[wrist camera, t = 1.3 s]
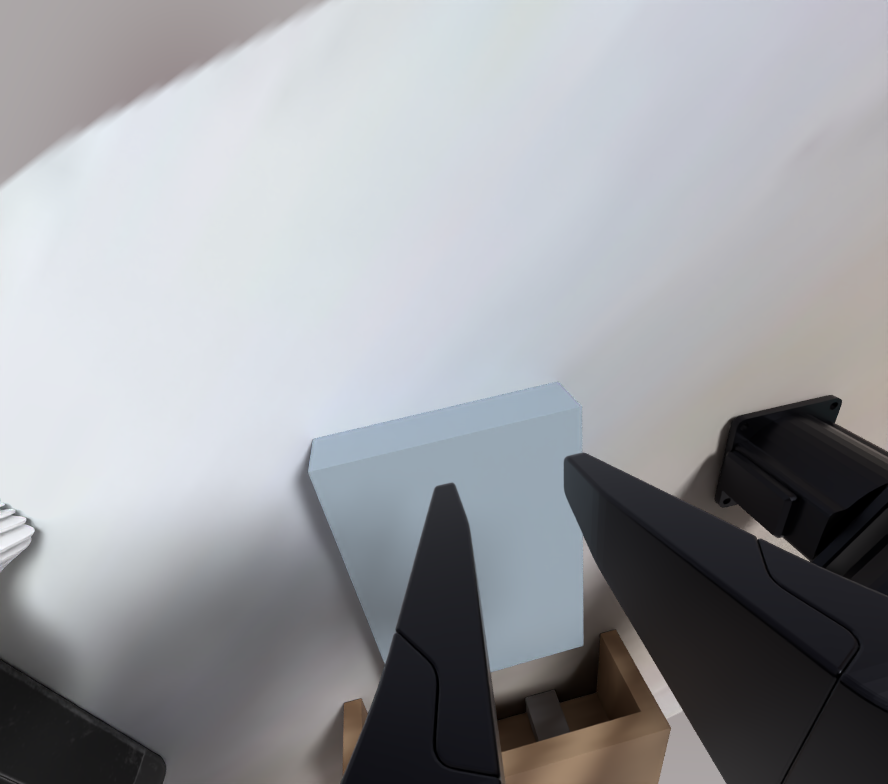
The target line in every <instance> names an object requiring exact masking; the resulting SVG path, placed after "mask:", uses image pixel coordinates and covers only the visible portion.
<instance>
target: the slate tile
mask: <svg viewBox="0 0 888 784" xmlns="http://www.w3.org/2000/svg"><path fill="white" fill-rule="evenodd" d="M577 453H582V406H581V405H580V404H579V403H578V402H577V401H576V400H575V399H574V398H573V396H572V395H571V394H570V393H569V392H568V391H567V390H566V389H565V388H564V387H563V386H562V385H561V384H560V383H559V381H558V382H554V383H549V384H545V385H541V386H537V387H532V388H528V389H524V390H520V391H515V392H511V393H507V394H502V395H498V396H494V397H490V398H485V399H481V400H477V401H473V402H468V403H464V404H460V405H456V406H451V407H447V408H443V409H438V410H434V411H430V412H426V413H421V414H417V415H413V416H409V417H404V418H400V419H396V420H392V421H387V422H383V423H379V424H375V425H370V426H366V427H362V428H357V429H353V430H349V431H345V432H340V433H336V434H332V435H328V436H323V437H319V438H315V439H313V442H312V449H311V456H310V462H309V469H308V474H309V476H310V479H311V481H312V484H313V486H314V489H315V491H316V494H317V496H318V499H319V501H320V504H321V506H322V509H323V511H324V514H325V516H326V519H327V521H328V524H329V526H330V529H331V531H332V534H333V536H334V539H335V541H336V544H337V546H338V549H339V551H340V554H341V556H342V559H343V561H344V564H345V566H346V569H347V571H348V574H349V576H350V579H351V581H352V584H353V586H354V589H355V591H356V594H357V596H358V599H359V601H360V603H361V606H362V608H363V611H364V613H365V616H366V618H367V621H368V623H369V626H370V628H371V631H372V633H373V636H374V638H375V641H376V643H377V646H378V648H379V651H380V653H381V656H382V658H383V661H384V663H386V659H387V656H388V653H389V649H390V645H391V642H392V638H393V635H394V633H396V631H395V628H396V624H397V621H398V617H399V614H400V610H401V606H402V603H403V599H404V595H405V592H406V588H407V585H408V581H409V577H410V574H411V570H412V567H413V563H414V559H415V556H416V552H417V548H418V545H419V541H420V538H421V534H422V530H423V527H424V523H425V519H426V516H427V512H428V509H429V505H430V501H431V498H432V494H433V490H434V488H435V487H436V486H437V485H442V484H446V483H450V482H453V483H454V484H455V485H456V488H457V490H458V493H459V496H460V499H461V502H462V504H463V507H464V510H465V513H466V516H467V518H468V522H469V525H470V531H471V537H472V544H473V551H474V558H475V564H476V571H477V578H478V585H479V591H480V598H481V605H482V612H483V620H484V627H485V635H486V642H487V649H488V657H489V664H490V672H493V671H497V670H500V669H504V668H507V667H511V666H514V665H518V664H521V663H525V662H528V661H532V660H535V659H539V658H542V657H546V656H549V655H553V654H556V653H560V652H563V651H567V650H570V649H574V648H577V647H580V646H583V534H582V532H581V529H580V527H579V525H578V523H577V521H576V518H575V516H574V514H573V512H572V509H571V507H570V505H569V503H568V501H567V498H566V496H565V492H564V459H565V457H566V456H569V455H573V454H577Z"/></svg>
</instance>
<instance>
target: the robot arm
mask: <svg viewBox="0 0 888 784" xmlns="http://www.w3.org/2000/svg"><path fill="white" fill-rule="evenodd" d="M841 404H842V400H841V399H839V398H837V397H835V396H833V395H828V396H824V397H819V398H815V399H810V400H806V401H802V402H797V403H793V404H788V405H784V406H780V407H775V408H771V409H766V410H762V411H758V412H753V413H749V414H745V415H740V416H738V417H736V418H735V419H734V420H733V421H732V424H731V427H730V432H729V436H728V441H727V445H726V450H725V454H724V459H723V463H722V468H721V473H720V477H719V482H718V486H717V491H716V495H715V502H716V503H717V504H718V505H719V506H720V507H729V506H733V505H737V504H738V505H739V506H740V507H742V508H743V509H744V510H745V511H746V512H747V513H748V514H750V515H751V516H752V517H753V518H754V519H755V520H756V521H757V522H759V523H760V524H761V525H762V526H763V527H764V528H765V529H766V530H768V531H769V532H770V533H771V534H772V535H774V536H775V537H777V538H781V537H783V538H784V539H785V540H786V541H788V542H789V543H790V544H791V545H792V546H793V547H794V548H796V549H797V550H798V551H799V552H800V553H801V554H802V555H804V556H805V557H806V558H807V559H808V560H809V561H810V562H809V561H807V560H804V559H802V558H800V557H798V556H796V555H794V554H792V553H790V552H787V551H785V550H783V549H781V548H779V547H777V546H775V545H773V544H771V543H769V542H767V541H765V540H763V539H758V540H757V538H756V536H754V535H752V534H750V533H748V532H746V531H744V530H742V529H740V528H738V527H736V526H734V525H732V524H730V523H728V522H726V521H724V520H722V519H720V518H717V517H715V516H713V515H711V514H709V513H707V512H705V511H703V510H701V509H699V508H697V507H695V506H693V505H691V504H689V503H687V502H685V501H683V500H681V499H679V498H677V497H675V496H673V495H670V494H668V493H666V492H664V491H662V490H660V489H658V488H656V487H654V486H652V485H650V484H648V483H646V482H644V481H642V480H640V479H638V478H636V477H634V476H632V475H630V474H628V473H626V472H623V471H621V470H619V469H617V468H615V467H613V466H611V465H609V464H607V463H605V462H603V461H601V460H599V459H597V458H595V457H593V456H591V455H589V454H586V453H577V454H573V455H569V456H566V457H565V459H564V492H565V496H566V498H567V501H568V503H569V505H570V507H571V509H572V512H573V514H574V516H575V518H576V521H577V523H578V525H579V527H580V529H581V532H582V534H583V536H584V538H585V540H586V543H587V545H588V547H589V549H590V551H591V554H592V556H593V558H594V560H595V562H596V564H597V566H598V567H599V569H600V571H601V573H602V575H603V576H604V578H605V580H606V581H607V583H608V585H609V586H610V588H611V590H612V591H613V593H614V595H615V597H616V598H617V600H618V602H619V603H620V605H621V607H622V608H623V610H624V612H625V613H626V615H627V617H628V618H629V620H630V622H631V624H632V625H633V627H634V629H635V630H636V632H637V634H638V635H639V637H640V639H641V640H642V642H643V644H644V645H645V647H646V649H647V650H648V652H649V654H650V656H651V657H652V659H653V661H654V662H655V664H656V666H657V667H658V669H659V671H660V672H661V674H662V676H663V677H664V679H665V681H666V683H667V684H668V686H669V688H670V689H671V691H672V693H673V694H674V696H675V698H676V699H677V701H678V703H679V704H680V706H681V708H682V710H683V711H684V713H685V715H686V716H687V718H688V719H689V721H690V723H691V724H692V726H693V728H694V730H695V731H696V733H697V735H698V736H699V738H700V740H701V742H702V743H703V745H704V747H705V748H706V750H707V752H708V753H709V755H710V757H711V758H712V760H713V762H714V763H715V765H716V767H717V768H718V770H719V772H720V774H721V775H722V777H723V779H724V780H725V782H726V783H727V784H888V452H887V451H885V450H884V449H882V448H880V447H878V446H876V445H874V444H872V443H871V442H869V441H867V440H865V439H863V438H861V437H859V436H858V435H856V434H854V433H852V432H850V431H848V430H846V429H845V428H843V427H841V426H839V425H837V424H835V421H836V418H837V416H838V413H839V410H840V407H841ZM395 631H396V633H394V635H393V638H392V642H391V645H390V649H389V653H388V656H387V659H386V663H385V666H384V669H383V672H382V675H381V679H380V682H379V685H378V688H377V691H376V694H375V696H374V699H373V702H372V704H371V707H370V710H369V712H368V715H367V718H366V720H365V723H364V726H363V728H362V731H361V733H360V736H359V738H358V741H357V743H356V746H355V748H354V751H353V753H352V756H351V758H350V761H349V763H348V765H347V768H346V770H345V773H344V775H343V778H342V780H341V783H340V784H506V783H505V775H504V768H503V760H502V753H501V746H500V738H499V731H498V723H497V716H496V709H495V701H494V694H493V686H492V679H491V672H490V664H489V657H488V649H487V642H486V635H485V627H484V620H483V612H482V605H481V598H480V591H479V585H478V578H477V571H476V564H475V558H474V551H473V544H472V537H471V531H470V525H469V522H468V518H467V516H466V513H465V510H464V507H463V504H462V502H461V499H460V496H459V493H458V490H457V488H456V485H455V484H454V483H453V482H450V483H446V484H442V485H437V486H436V487H435V488H434V490H433V494H432V498H431V501H430V505H429V509H428V512H427V516H426V519H425V523H424V527H423V530H422V534H421V538H420V541H419V545H418V548H417V552H416V556H415V559H414V563H413V567H412V570H411V574H410V577H409V581H408V585H407V588H406V592H405V595H404V599H403V603H402V606H401V610H400V614H399V617H398V621H397V624H396V628H395Z"/></svg>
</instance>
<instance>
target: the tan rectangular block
mask: <svg viewBox="0 0 888 784" xmlns="http://www.w3.org/2000/svg"><path fill="white" fill-rule="evenodd" d="M525 701H526V711H527V712H526V713H523V714H519V715H515V716H512V717H508V718H505V719H501V720H498V721H497V723H498V731H499V738H500V746H501V753H502V760H503V768H504V775H505V783H506V784H658V781H659V777H660V773H661V768H662V764H663V760H664V756H665V752H666V747H667V743H668V739H669V734H670V730H671V727H670V725H669V723H668V722H667V720H666V718H665V716H664V715H663V713H662V711H661V709H660V707H659V706H658V704H657V702H656V700H655V699H654V697H653V695H652V693H651V691H650V690H649V688H648V686H647V684H646V683H645V681H644V679H643V677H642V675H641V674H640V672H639V670H638V668H637V666H636V665H635V663H634V661H633V659H632V658H631V656H630V654H629V652H628V650H627V649H626V647H625V645H624V643H623V642H622V640H621V638H620V636H619V634H618V633H617V631H616V630H612V631H609V632H605V633H601V634H600V647H599V663H598V678H597V692H596V693H593V694H589V695H586V696H582V697H579V698H575V699H572V700H568V701H565V702H561V703H559V700H558V698H557V695H556V692H555V690H552V691H548V692H544V693H541V694H537V695H534V696H530V697H527V698H525ZM367 715H368V713H367V711H366V708H365V706H364V704H363V701H362V699H358V700H354V701H350V702H346V703H344V731H343V775H344V773H345V770H346V768H347V765H348V763H349V761H350V758H351V756H352V753H353V751H354V748H355V746H356V743H357V741H358V738H359V736H360V733H361V731H362V728H363V726H364V723H365V720H366V718H367Z"/></svg>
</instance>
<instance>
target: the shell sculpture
mask: <svg viewBox="0 0 888 784" xmlns="http://www.w3.org/2000/svg"><path fill="white" fill-rule="evenodd" d="M4 505H5V504H4V503H1V504H0V507H1V506H4ZM14 513H15V509H7V510H0V572H1V571H2V570H3V568H4V567H6V566H7V565H8V564H9V563H10V562H11V561H12V560H13V559H14V558H15V557H17V556H18V555H19V554H20V553H21V551H23V550H24V549H26V548H27V547H28V546H29V544H30V542H31V536H32V535H33V534H34V531H35V530H34V528H33V527H31V526H29V525H26V524H24V523H25V522H26V518H25V517H21V516H11V514H14Z"/></svg>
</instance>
